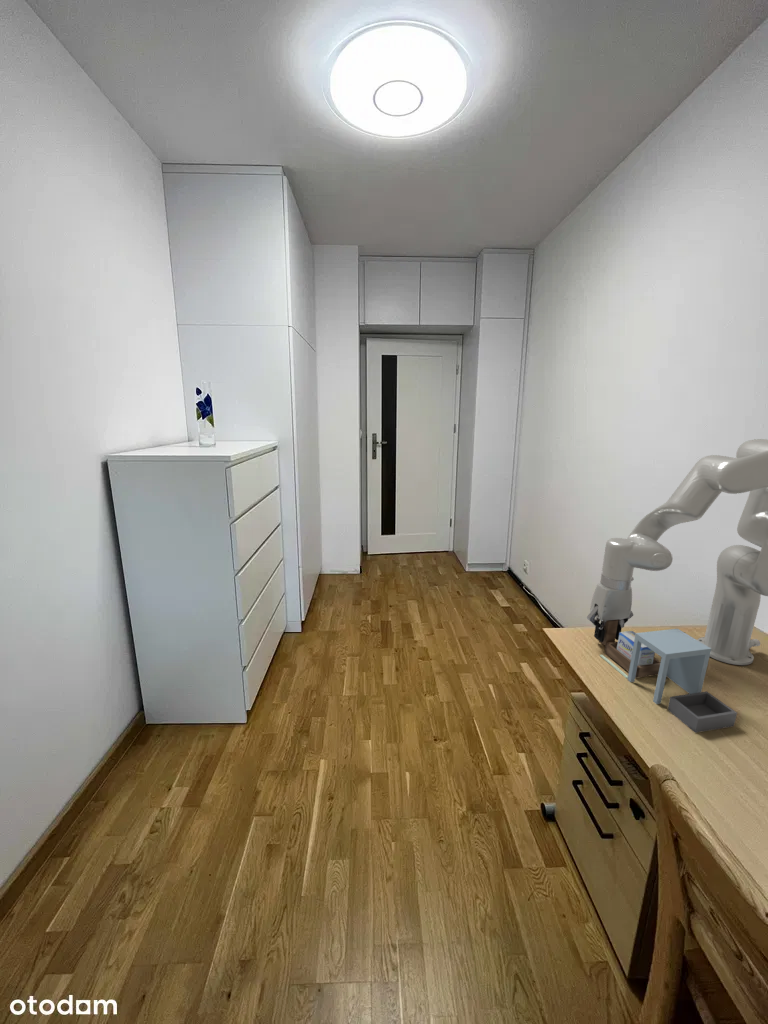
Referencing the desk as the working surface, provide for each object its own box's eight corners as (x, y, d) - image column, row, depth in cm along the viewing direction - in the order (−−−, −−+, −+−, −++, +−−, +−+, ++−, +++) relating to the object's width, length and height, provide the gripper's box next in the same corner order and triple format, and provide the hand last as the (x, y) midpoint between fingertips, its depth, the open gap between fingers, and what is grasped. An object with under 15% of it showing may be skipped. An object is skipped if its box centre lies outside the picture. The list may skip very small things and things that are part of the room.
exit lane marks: (636, 651, 116) (636, 650, 116) (666, 673, 107) (666, 672, 106) (599, 655, 114) (599, 654, 114) (626, 678, 104) (626, 677, 104)
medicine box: (614, 659, 112) (618, 631, 110) (627, 657, 113) (632, 629, 111) (636, 677, 105) (641, 648, 103) (651, 675, 106) (656, 646, 104)
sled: (614, 638, 122) (618, 614, 120) (662, 674, 105) (667, 647, 103) (590, 641, 120) (594, 616, 118) (635, 677, 104) (640, 650, 102)
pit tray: (703, 704, 95) (706, 691, 95) (733, 726, 89) (737, 712, 88) (667, 709, 94) (670, 696, 93) (695, 732, 87) (698, 719, 86)
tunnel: (668, 674, 106) (677, 628, 103) (699, 697, 98) (711, 648, 94) (627, 679, 104) (635, 633, 101) (656, 704, 95) (666, 654, 92)
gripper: (631, 574, 120) (622, 629, 124) (580, 578, 117) (572, 634, 121) (652, 584, 113) (641, 642, 117) (598, 589, 110) (589, 649, 114)
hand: (606, 638), depth 119 cm, fingers open, 4 cm apart
